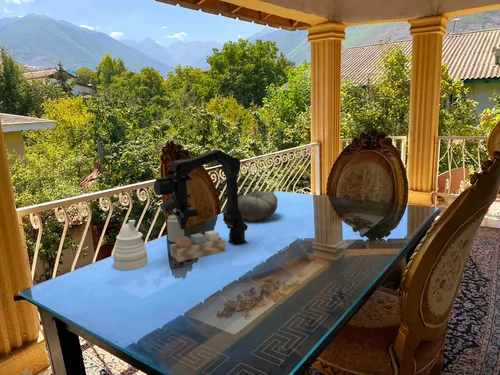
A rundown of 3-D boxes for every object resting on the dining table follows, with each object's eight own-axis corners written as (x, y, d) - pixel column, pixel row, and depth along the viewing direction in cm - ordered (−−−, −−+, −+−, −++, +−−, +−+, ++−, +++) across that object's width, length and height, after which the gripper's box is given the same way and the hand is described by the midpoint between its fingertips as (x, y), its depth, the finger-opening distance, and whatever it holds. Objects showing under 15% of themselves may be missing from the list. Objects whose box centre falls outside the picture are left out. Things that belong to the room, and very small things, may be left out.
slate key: (200, 244, 165) (200, 233, 164) (205, 247, 161) (204, 235, 160) (191, 246, 162) (190, 235, 161) (195, 249, 159) (195, 237, 158)
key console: (216, 245, 172) (215, 234, 171) (225, 250, 165) (224, 239, 164) (171, 256, 160) (170, 244, 159) (178, 262, 153) (178, 250, 152)
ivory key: (214, 241, 169) (213, 230, 168) (219, 243, 165) (218, 232, 164) (205, 243, 166) (204, 232, 165) (210, 245, 163) (209, 234, 162)
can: (180, 243, 175) (179, 218, 172) (165, 242, 176) (164, 217, 174) (186, 238, 182) (185, 214, 179) (172, 237, 183) (170, 213, 181)
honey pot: (153, 259, 156) (151, 217, 153) (134, 271, 144) (131, 226, 141) (127, 256, 160) (124, 214, 157) (107, 267, 149) (102, 223, 145)
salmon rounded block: (186, 247, 161) (185, 236, 160) (190, 250, 157) (190, 238, 156) (176, 249, 159) (175, 238, 158) (180, 252, 155) (180, 241, 154)
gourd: (287, 211, 218) (282, 182, 214) (266, 229, 199) (260, 198, 194) (251, 210, 232) (246, 183, 228) (228, 227, 213) (221, 198, 208)
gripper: (152, 191, 156) (155, 227, 159) (170, 199, 141) (173, 239, 144) (178, 187, 163) (179, 222, 166) (197, 195, 147) (199, 233, 150)
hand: (182, 229), depth 156 cm, fingers closed
